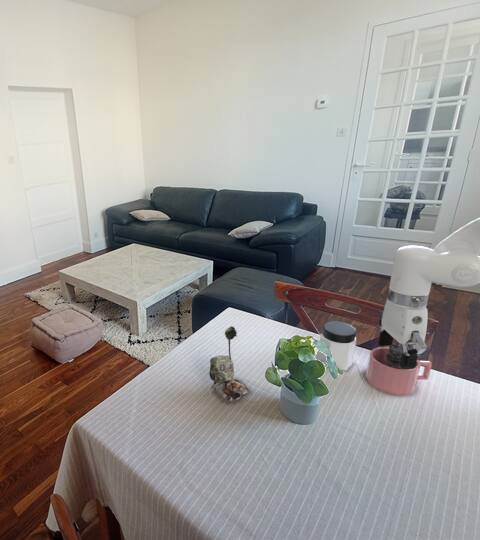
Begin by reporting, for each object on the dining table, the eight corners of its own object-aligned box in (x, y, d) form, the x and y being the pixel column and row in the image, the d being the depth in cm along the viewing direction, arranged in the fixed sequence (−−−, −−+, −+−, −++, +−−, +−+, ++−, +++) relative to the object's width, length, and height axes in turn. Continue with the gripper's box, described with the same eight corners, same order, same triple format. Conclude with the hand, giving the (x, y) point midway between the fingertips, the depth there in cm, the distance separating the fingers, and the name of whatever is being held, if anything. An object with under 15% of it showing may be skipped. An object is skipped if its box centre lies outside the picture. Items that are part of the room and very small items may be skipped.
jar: (349, 357, 103) (355, 323, 99) (354, 373, 96) (360, 337, 92) (316, 352, 107) (320, 319, 103) (318, 368, 100) (322, 333, 96)
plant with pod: (203, 386, 98) (201, 327, 91) (240, 380, 99) (241, 320, 92) (213, 406, 90) (212, 343, 83) (253, 399, 91) (256, 335, 84)
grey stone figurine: (378, 370, 95) (385, 333, 91) (405, 378, 91) (414, 340, 87) (374, 381, 91) (381, 343, 87) (401, 390, 87) (410, 351, 83)
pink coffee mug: (378, 396, 88) (383, 370, 85) (358, 370, 97) (362, 347, 94) (440, 397, 85) (447, 371, 82) (413, 371, 95) (419, 347, 92)
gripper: (451, 313, 74) (435, 377, 80) (402, 282, 90) (392, 337, 96) (412, 314, 75) (399, 377, 81) (371, 283, 91) (362, 337, 97)
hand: (395, 355), depth 88 cm, fingers open, 9 cm apart
